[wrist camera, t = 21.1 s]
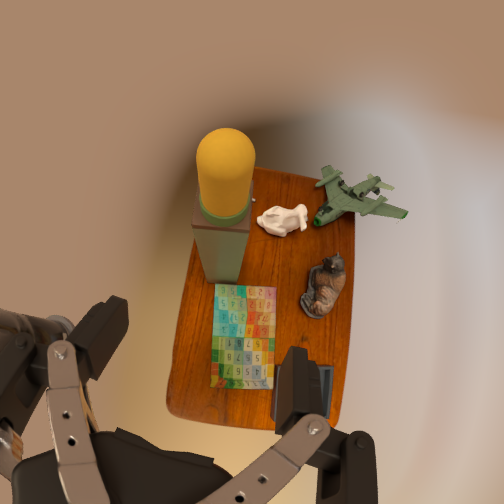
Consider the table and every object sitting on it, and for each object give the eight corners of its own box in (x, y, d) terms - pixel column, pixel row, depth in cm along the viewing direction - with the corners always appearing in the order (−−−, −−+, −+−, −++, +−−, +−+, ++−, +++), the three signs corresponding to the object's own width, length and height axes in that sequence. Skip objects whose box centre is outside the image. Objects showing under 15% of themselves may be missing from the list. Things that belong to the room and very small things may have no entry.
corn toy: (197, 225, 28) (185, 163, 17) (203, 183, 29) (198, 112, 19) (246, 229, 28) (259, 169, 18) (249, 187, 30) (262, 118, 19)
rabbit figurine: (308, 216, 63) (321, 196, 54) (309, 247, 60) (323, 231, 51) (256, 211, 62) (262, 190, 53) (255, 243, 59) (261, 225, 50)
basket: (270, 416, 49) (273, 421, 45) (274, 364, 52) (277, 366, 49) (322, 414, 50) (329, 419, 46) (327, 364, 53) (333, 366, 50)
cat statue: (324, 322, 56) (344, 318, 46) (294, 314, 56) (308, 309, 46) (335, 269, 60) (355, 256, 50) (306, 260, 60) (322, 246, 50)
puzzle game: (277, 286, 52) (273, 390, 46) (272, 290, 57) (269, 386, 51) (215, 282, 51) (210, 388, 45) (215, 287, 56) (211, 384, 50)
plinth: (207, 282, 56) (191, 224, 28) (210, 254, 58) (199, 175, 29) (236, 285, 56) (249, 230, 28) (238, 257, 58) (253, 180, 30)
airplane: (308, 210, 56) (309, 242, 64) (415, 223, 49) (404, 254, 57) (321, 152, 70) (322, 181, 77) (403, 161, 63) (397, 190, 70)
